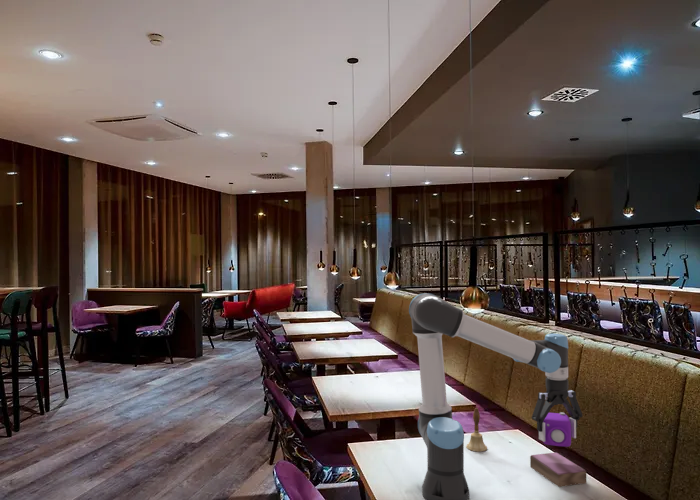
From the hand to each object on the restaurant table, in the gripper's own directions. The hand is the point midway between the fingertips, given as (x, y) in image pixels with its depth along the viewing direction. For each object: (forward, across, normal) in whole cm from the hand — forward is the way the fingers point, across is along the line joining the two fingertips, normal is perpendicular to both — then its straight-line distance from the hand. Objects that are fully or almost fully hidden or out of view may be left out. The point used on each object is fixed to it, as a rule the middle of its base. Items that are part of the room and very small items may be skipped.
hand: (557, 438), depth 174 cm
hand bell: (+13, -16, +29) cm, 36 cm away
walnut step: (+13, 0, 0) cm, 13 cm away
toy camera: (+2, 0, 0) cm, 2 cm away
